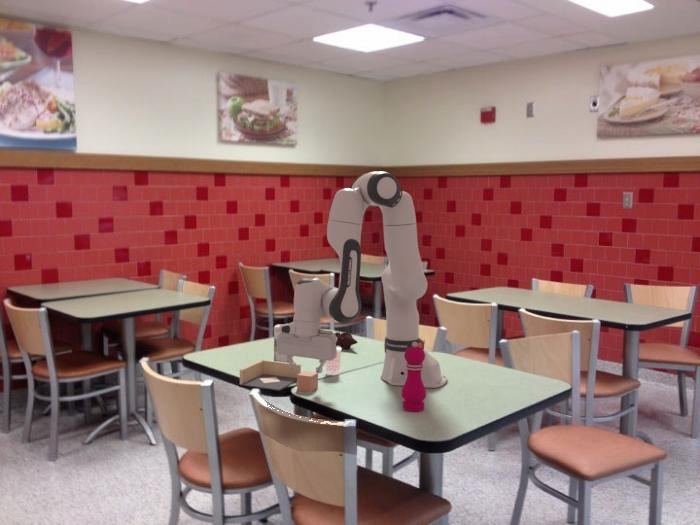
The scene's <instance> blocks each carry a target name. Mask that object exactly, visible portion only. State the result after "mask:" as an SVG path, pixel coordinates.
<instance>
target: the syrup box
mask: <svg viewBox="0 0 700 525" xmlns="http://www.w3.org/2000/svg"><path fill="white" fill-rule="evenodd" d="M282 325H284V324H279V323H277V324H275V326H273V361H277V362H285V363H289V362H288V360H287V355H283V354H278V352H277V350H276V346H277V337H278V335H279V334H280V332H279V327H280V326H282Z"/></svg>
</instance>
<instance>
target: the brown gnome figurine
mask: <svg viewBox="0 0 700 525" xmlns="http://www.w3.org/2000/svg"><path fill="white" fill-rule="evenodd" d="M334 334H335V335H336V336H337V342H336V347H341V348H342V349H344V350H347V349H350V348H351V347H352V346H353V345H356V344H358V340H356V339H355V338H354V337H353V335H352V333H350V332H348V331H347V332H337V331H336V332H334Z"/></svg>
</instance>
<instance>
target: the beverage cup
mask: <svg viewBox="0 0 700 525" xmlns="http://www.w3.org/2000/svg"><path fill="white" fill-rule="evenodd" d="M334 334H335V333H334ZM334 334H332V335H334ZM336 348H337V357H336V358H335V359H334V360H332V361H327V360H326V363H325V373H326V375H328V376H337V375H340V369H341V368H340V367H341V355H342V349H343V348H341V347H340V346H336Z"/></svg>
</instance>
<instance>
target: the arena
mask: <svg viewBox="0 0 700 525" xmlns="http://www.w3.org/2000/svg"><path fill="white" fill-rule="evenodd" d="M301 372H302V364H300V363H296V369H290V364H289V363H285V362H277V361H274V360H267V359H260V360H259V361H256V362H254V363H252V364H249V365H247V366H245V367H243V368H241V369H239V385H240V386H243V387H250V388H257V389H262V390H264V389H265V390H271V391H277V392H280V391H282V390H284V389H285V388H287V387H289V386H291V385H292V383H293V384H294V383H296V382H297V375H298V374H300V373H301ZM295 381H296V382H295ZM290 384H291V385H290ZM288 385H289V386H288Z"/></svg>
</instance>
